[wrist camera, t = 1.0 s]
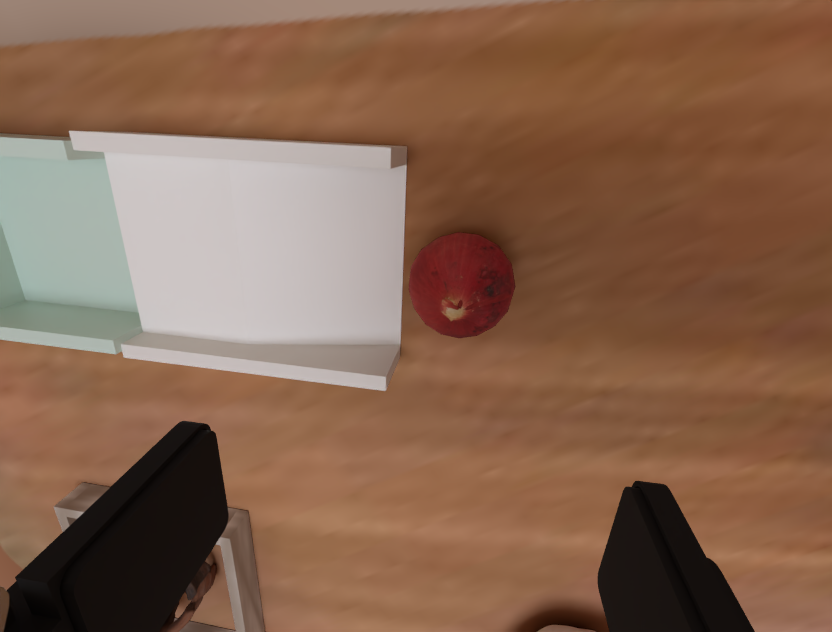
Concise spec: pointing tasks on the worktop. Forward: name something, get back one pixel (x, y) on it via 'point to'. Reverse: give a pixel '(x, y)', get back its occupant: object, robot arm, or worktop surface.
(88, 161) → the tray
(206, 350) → the white piece
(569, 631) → the cell model
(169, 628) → the pottery mug
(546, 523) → the worktop surface
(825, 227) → the worktop surface
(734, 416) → the worktop surface
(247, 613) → the mug stand
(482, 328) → the red round fruit
